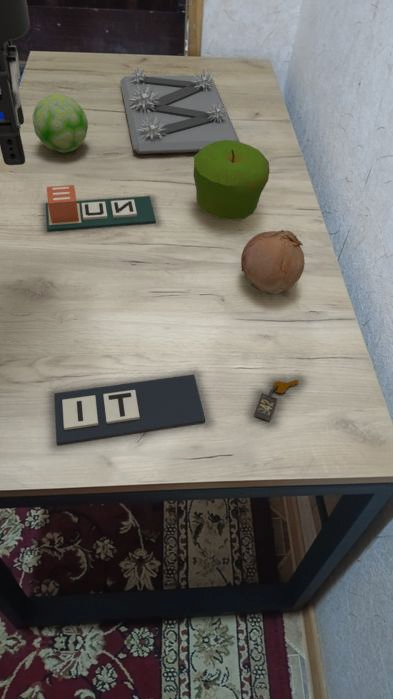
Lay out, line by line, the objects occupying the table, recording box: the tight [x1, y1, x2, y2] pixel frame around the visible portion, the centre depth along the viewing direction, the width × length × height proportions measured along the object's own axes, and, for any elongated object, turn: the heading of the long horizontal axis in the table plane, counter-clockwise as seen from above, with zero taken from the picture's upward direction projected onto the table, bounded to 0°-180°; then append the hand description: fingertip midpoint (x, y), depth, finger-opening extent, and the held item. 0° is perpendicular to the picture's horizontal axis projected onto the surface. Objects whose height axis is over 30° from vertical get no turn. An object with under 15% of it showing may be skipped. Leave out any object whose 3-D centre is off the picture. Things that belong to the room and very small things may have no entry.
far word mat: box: [45, 195, 157, 232], centre depth 84 cm, size 18×7×1 cm, turn 102°
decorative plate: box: [119, 65, 241, 155], centre depth 103 cm, size 30×22×7 cm
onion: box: [240, 229, 306, 295], centre depth 73 cm, size 10×9×10 cm
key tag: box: [253, 379, 299, 422], centre depth 64 cm, size 8×3×1 cm, turn 144°
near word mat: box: [53, 373, 206, 446], centre depth 61 cm, size 18×7×1 cm, turn 102°
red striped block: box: [46, 184, 79, 223], centre depth 81 cm, size 4×4×4 cm
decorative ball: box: [32, 93, 89, 153], centre depth 92 cm, size 10×10×10 cm
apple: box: [193, 140, 270, 221], centre depth 83 cm, size 12×12×11 cm
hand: (15, 142), depth 56 cm, fingers open, 8 cm apart
